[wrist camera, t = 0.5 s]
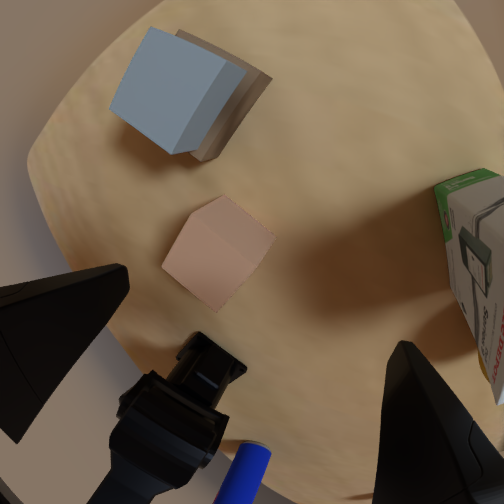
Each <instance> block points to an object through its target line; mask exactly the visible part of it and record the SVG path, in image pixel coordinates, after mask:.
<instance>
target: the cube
mask: <svg viewBox="0 0 504 504" xmlns="http://www.w3.org/2000/svg"><path fill="white" fill-rule="evenodd" d="M276 238H277V236H275V235H274V234H273V233H272V232H271V231H269V230H268V229H267V228H266V227H264V226H263V225H262V224H261V223H260V222H258V221H257V220H256V219H255V218H253V217H252V216H251V215H250V214H248V213H247V212H246V211H245V210H243V209H242V208H241V207H240V206H238V205H237V204H236V203H235V202H233V201H232V200H231V199H230V198H228V197H227V196H226V195H225V194H224V195H222V196H221V197H219V198H217V199H215V200H214V201H212V202H210V203H208V204H207V205H205V206H203V207H202V208H200V209H198V210H196V211H195V212H193V213H191V215H190V217H189V218H188V220H187V222H186V223H185V225H184V227H183V229H182V230H181V232H180V234H179V235H178V237H177V239H176V241H175V243H174V244H173V246H172V248H171V250H170V251H169V253H168V255H167V257H166V259H165V260H164V262H163V264H162V266H161V267H162V268H163V269H164V270H165V271H166V272H168V273H169V274H170V275H171V276H172V277H173V278H175V279H176V280H177V281H178V282H179V283H180V284H182V285H183V286H184V287H185V288H186V289H188V290H189V291H190V292H191V293H192V294H194V295H195V296H196V297H197V298H198V299H200V300H201V301H202V302H203V303H205V304H206V305H207V306H208V307H209V308H211V309H212V310H213V311H214V312H216V313H217V312H218V311H219V309H220V308H221V307H222V306H223V305H224V304H225V303H226V302H227V300H228V299H229V298H230V297H231V296H232V295H233V294H234V293H235V291H236V290H237V289H238V288H239V287H240V286H241V285H242V284H243V282H244V281H245V280H246V279H247V278H248V277H249V276H250V275H251V273H252V272H253V271H254V270H255V269H256V268H257V266H258V265H259V263H260V262H261V260H262V259H263V257H264V256H265V254H266V253H267V251H268V250H269V248H270V247H271V245H272V244H273V242H274V241H275V239H276Z"/></svg>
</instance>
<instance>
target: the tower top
mask: <svg viewBox="0 0 504 504" xmlns="http://www.w3.org/2000/svg"><path fill="white" fill-rule="evenodd" d="M246 73H247V71H246V70H244V69H242V68H240V67H239V66H237V65H235V64H233V63H231V62H229V61H228V60H226V59H224V58H222V57H220V56H218V55H216V54H214V53H212V52H210V51H208V50H206V49H204V48H202V47H200V46H197V45H195V44H193V43H191V42H189V41H186V40H184V39H182V38H179V37H177V36H175V35H172V34H170V33H167V32H164V31H162V30H159V29H156V28H153V27H150V29H149V30H148V32H147V34H146V35H145V37H144V39H143V40H142V42H141V44H140V46H139V47H138V49H137V51H136V53H135V55H134V57H133V58H132V60H131V62H130V64H129V66H128V68H127V70H126V72H125V74H124V76H123V78H122V80H121V82H120V85H119V87H118V89H117V91H116V93H115V96H114V98H113V100H112V103H111V105H110V107H109V110H111V111H112V112H114V113H115V114H116V115H118V116H119V117H121V118H122V119H123V120H125V121H126V122H127V123H129V124H130V125H132V126H133V127H134V128H136V129H137V130H138V131H140V132H141V133H142V134H144V135H145V136H147V137H148V138H149V139H151V140H152V141H153V142H155V143H156V144H157V145H159V146H160V147H161V148H163V149H164V150H165V151H167V152H168V153H169V154H171V155H172V154H177V153H182V152H187V151H192V150H197V149H198V147H199V146H200V144H201V142H202V141H203V139H204V137H205V136H206V134H207V132H208V131H209V129H210V127H211V126H212V124H213V122H214V121H215V119H216V118H217V116H218V114H219V113H220V111H221V110H222V108H223V107H224V105H225V104H226V102H227V101H228V99H229V97H230V96H231V94H232V93H233V91H234V90H235V89H236V87H237V86H238V84H239V83H240V81H241V80H242V78H243V77H244V75H245V74H246Z"/></svg>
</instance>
